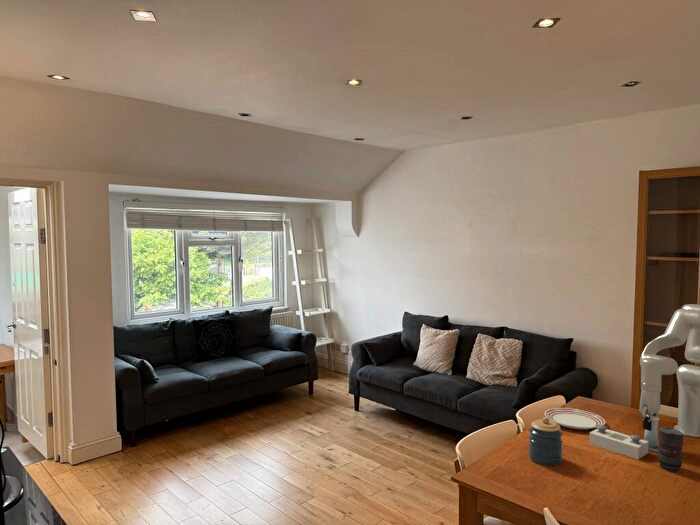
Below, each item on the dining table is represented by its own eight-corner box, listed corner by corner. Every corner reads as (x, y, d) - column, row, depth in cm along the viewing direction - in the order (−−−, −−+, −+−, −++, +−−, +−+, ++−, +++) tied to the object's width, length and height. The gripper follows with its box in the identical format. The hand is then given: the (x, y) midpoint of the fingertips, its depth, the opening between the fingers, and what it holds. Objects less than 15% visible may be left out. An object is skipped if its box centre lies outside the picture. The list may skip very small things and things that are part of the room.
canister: (562, 455, 204) (563, 414, 203) (562, 468, 192) (562, 425, 191) (530, 450, 209) (530, 410, 209) (527, 462, 198) (527, 420, 197)
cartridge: (646, 441, 215) (648, 413, 214) (658, 446, 211) (661, 417, 210) (641, 444, 212) (643, 416, 211) (653, 449, 208) (656, 420, 207)
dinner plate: (559, 409, 260) (559, 403, 259) (614, 423, 239) (614, 416, 239) (534, 422, 241) (534, 415, 241) (591, 439, 221) (591, 431, 221)
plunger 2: (632, 447, 207) (632, 433, 207) (642, 450, 204) (642, 436, 204) (628, 450, 205) (628, 436, 205) (638, 453, 202) (638, 439, 202)
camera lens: (686, 473, 187) (687, 435, 186) (663, 472, 189) (663, 434, 188) (676, 464, 195) (677, 427, 194) (654, 462, 197) (655, 426, 196)
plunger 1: (599, 437, 219) (599, 424, 218) (608, 440, 215) (608, 426, 215) (595, 439, 216) (595, 426, 216) (604, 442, 213) (604, 429, 213)
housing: (589, 443, 215) (589, 432, 215) (600, 437, 221) (600, 427, 221) (637, 459, 199) (638, 447, 199) (648, 452, 205) (648, 441, 205)
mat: (643, 440, 217) (643, 439, 217) (665, 447, 210) (665, 446, 210) (634, 446, 212) (634, 444, 212) (657, 453, 205) (657, 451, 205)
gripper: (649, 381, 218) (649, 420, 219) (633, 388, 208) (632, 430, 209) (668, 385, 212) (667, 425, 213) (652, 393, 202) (651, 435, 203)
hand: (650, 427), depth 211 cm, fingers open, 5 cm apart
